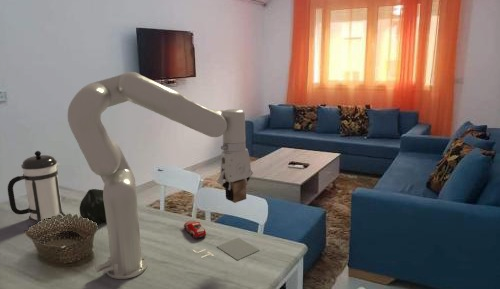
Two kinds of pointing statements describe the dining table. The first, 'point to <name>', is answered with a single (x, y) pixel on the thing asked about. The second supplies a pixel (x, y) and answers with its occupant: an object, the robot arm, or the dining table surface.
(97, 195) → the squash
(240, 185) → the walnut block
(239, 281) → the dining table surface
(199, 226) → the race car
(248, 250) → the pad
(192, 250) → the card
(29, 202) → the coffee press
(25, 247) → the dining table surface
